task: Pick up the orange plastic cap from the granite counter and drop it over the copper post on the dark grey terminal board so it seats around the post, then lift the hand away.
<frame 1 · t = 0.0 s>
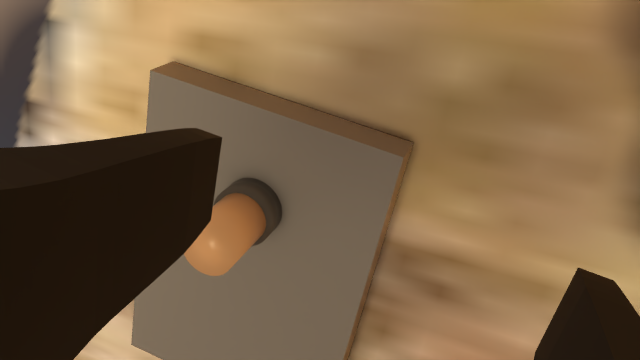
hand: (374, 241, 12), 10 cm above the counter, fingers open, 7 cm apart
terminal board: (259, 250, 26), on the counter
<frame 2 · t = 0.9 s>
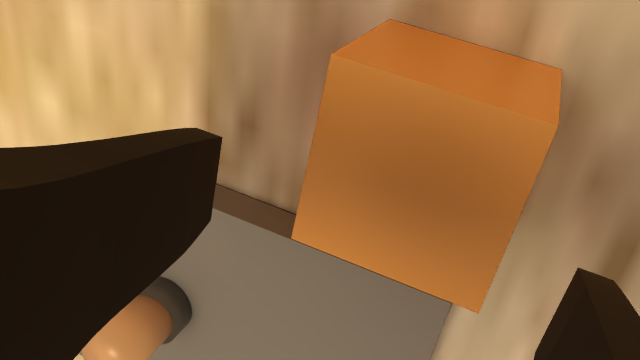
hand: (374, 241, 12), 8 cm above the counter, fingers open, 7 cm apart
orange cap: (446, 123, 18), on the counter
terminal board: (251, 310, 24), on the counter
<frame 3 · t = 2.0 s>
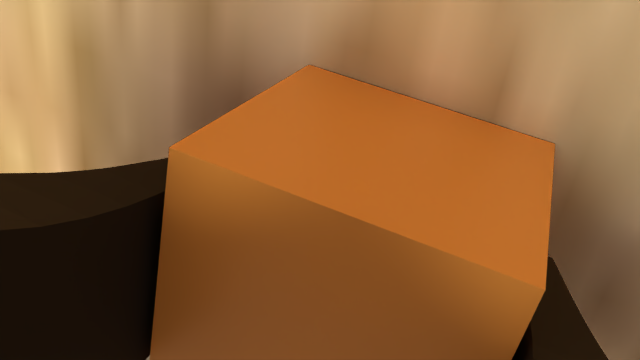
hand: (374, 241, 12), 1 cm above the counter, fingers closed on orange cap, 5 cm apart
orange cap: (392, 210, 13), on the counter, touching gripper
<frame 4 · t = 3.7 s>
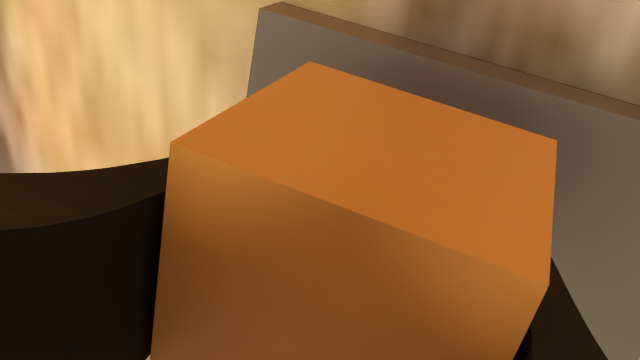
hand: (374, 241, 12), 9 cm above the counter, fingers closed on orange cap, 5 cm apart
orange cap: (394, 207, 13), point 7 cm above the counter, touching gripper
terminal board: (443, 205, 20), on the counter
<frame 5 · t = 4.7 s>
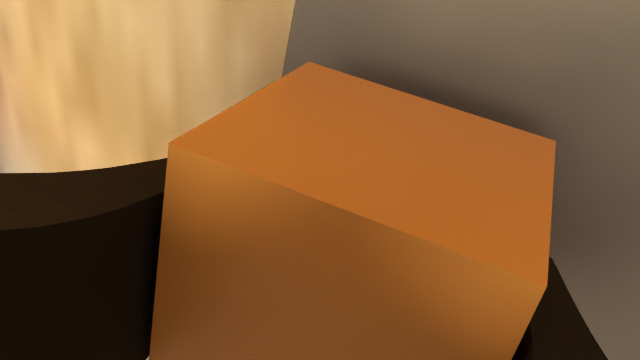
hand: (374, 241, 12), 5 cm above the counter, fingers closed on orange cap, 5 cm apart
orange cap: (393, 207, 13), point 4 cm above the counter, touching gripper
terminal board: (541, 185, 16), on the counter
when the fingers open (5 cm above the counter, at t = 5.3 s): orange cap drops 2 cm, resting on terminal board.
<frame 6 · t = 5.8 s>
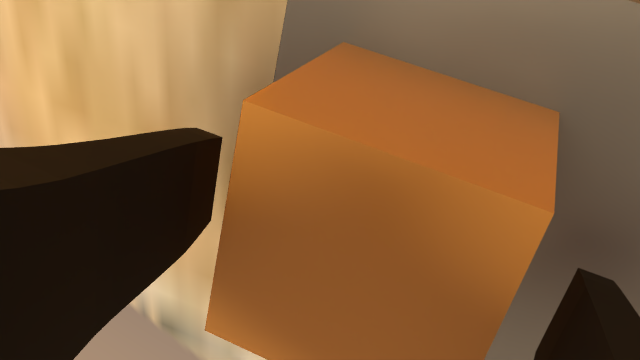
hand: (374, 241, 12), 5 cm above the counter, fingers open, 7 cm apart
orange cap: (414, 172, 15), point 1 cm above the counter, touching terminal board
terminal board: (539, 192, 15), on the counter
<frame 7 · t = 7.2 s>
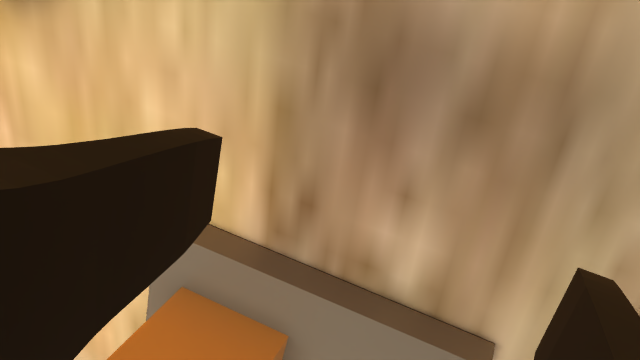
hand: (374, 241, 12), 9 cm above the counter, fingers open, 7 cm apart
orange cap: (225, 354, 26), point 1 cm above the counter, touching terminal board
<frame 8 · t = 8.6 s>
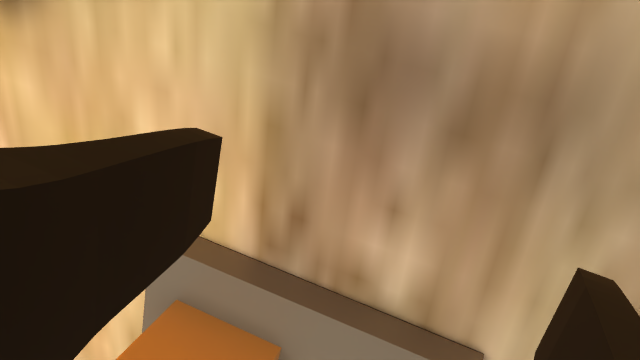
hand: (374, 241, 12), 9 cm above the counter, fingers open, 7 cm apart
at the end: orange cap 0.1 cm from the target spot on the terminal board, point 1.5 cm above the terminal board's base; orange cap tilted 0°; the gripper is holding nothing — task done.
